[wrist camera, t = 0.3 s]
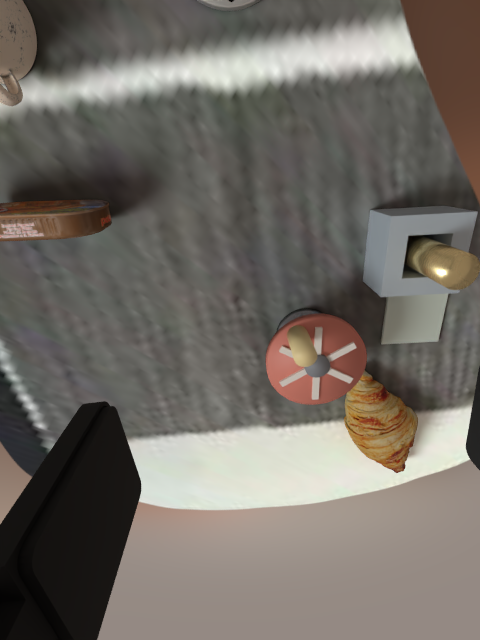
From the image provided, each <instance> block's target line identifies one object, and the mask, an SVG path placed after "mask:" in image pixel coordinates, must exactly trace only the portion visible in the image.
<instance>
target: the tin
mask: <svg viewBox="0 0 480 640" xmlns="http://www.w3.org/2000/svg"><path fill="white" fill-rule="evenodd" d="M111 223H112V222H111V216H110V211H109V203H108V202H107V201H103V200H58V201H28V202H11V203H1V204H0V241H23V240H48V239H66V238H75V237H82V236H87V235H91V234H95V233H98V232H100V231H102V230H104V229H105V228H107V227H108V226H110V225H111Z"/></svg>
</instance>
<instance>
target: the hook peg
mask: <svg viewBox="0 0 480 640" xmlns="http://www.w3.org/2000/svg"><path fill="white" fill-rule="evenodd" d="M404 264H405V265H407V266H409V267H411V268H412V269H414V270H416V271H418V272H419V273H421V274H423V275H425V276H426V277H428V278H430V279H432V280H433V281H435V282H437V283H439V284H441V285H442V286H444V287H446V288H448V289H450V290H460V289H463V288H466V287H467V286H469V285H470V284H471V283H473V282H474V280H475V279H476V278H477V276H478V274H479V271H480V262H479V260H478V258H477V257H476V256H475V255H473V254H471V253H468V252H465V251H462V250H460V249H457V248H454V247H451V246H449V245H446V244H443V243H440V242H438V241H435V240H432V239H429V238H427V237H424V236H421V235H411V236H408V241H407V247H406V254H405V260H404Z"/></svg>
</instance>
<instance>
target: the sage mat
mask: <svg viewBox="0 0 480 640" xmlns="http://www.w3.org/2000/svg"><path fill="white" fill-rule="evenodd" d="M447 298H448V294H429V295H411V296H392V297H387V300H386V307H385V314H384V321H383V329H382V336H381V344H399V343H417V342H436V341H438V339H439V334H440V330H441V325H442V321H443V316H444V312H445V307H446V302H447Z"/></svg>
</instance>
